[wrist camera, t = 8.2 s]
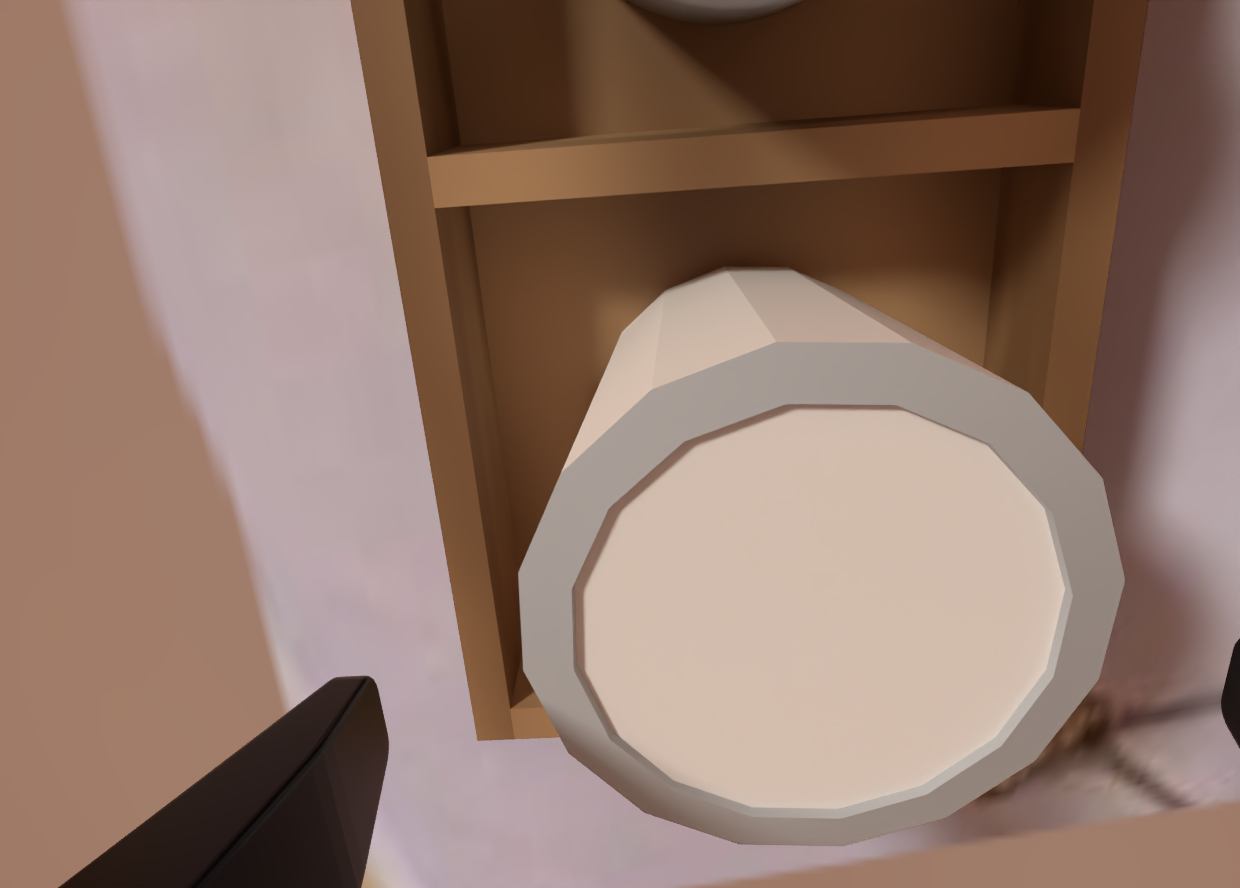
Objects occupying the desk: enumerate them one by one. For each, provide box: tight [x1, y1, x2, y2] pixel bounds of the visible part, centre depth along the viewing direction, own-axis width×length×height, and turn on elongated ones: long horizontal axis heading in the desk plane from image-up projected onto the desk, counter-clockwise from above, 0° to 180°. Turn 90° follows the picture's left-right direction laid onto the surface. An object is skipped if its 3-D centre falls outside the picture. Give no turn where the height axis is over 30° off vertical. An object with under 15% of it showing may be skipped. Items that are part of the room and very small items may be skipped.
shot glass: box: [518, 266, 1125, 846], centre depth 13 cm, size 7×7×7 cm
